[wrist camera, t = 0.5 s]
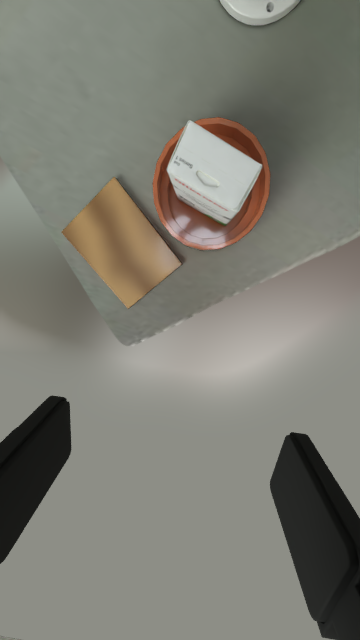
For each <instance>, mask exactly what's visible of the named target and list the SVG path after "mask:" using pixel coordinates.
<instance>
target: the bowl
mask: <svg viewBox="0 0 360 640" xmlns="http://www.w3.org/2000/svg"><path fill="white" fill-rule="evenodd" d="M194 123H196V124H197V125H199V126H201V127H202V128H204V129H205V130H207V131H209V132H210V133H212V134H213V135H215V136H217V137H218V138H220V139H221V140H223V141H224V142H226V143H228V144H229V145H231V146H232V147H234V148H236V149H237V150H239V151H240V152H242V153H244V154H245V155H247V156H248V157H250V158H252V159H253V160H255V161H256V162H258V163H260V164H262V169H261V171H260V173H259V176H258V178H257V180H256V182H255V183H254V185H253V187H252V189H251V191H250V193H249V194H248V196H247V198H246V200H245V201H244V203H243V205H242V207H241V209H240V211H239V212H238V213H237V214H236V215H235V216H234V217H233V218H232V219H231V221H230V222H229V223H228V224H227V225H226V226H223V225H222V224H220V223H218V222H216V221H215V220H213V219H211V218H210V217H208V216H206V215H204V214H203V213H201V212H199V211H197V210H196V209H194V208H192V207H191V206H189V205H187V204H185V203H184V202H182V201H180V200H178V198H177V195H176V193H175V190H174V187H173V185H172V182H171V180H170V177H169V174H168V172H167V167H168V164H169V162H170V159H171V156H172V154H173V152H174V149H175V147H176V145H177V143H178V140H179V138H180V136H181V134H182V132H183V130H184V128H185V127H184V128H182V129H181V130H180V131H179V132H178V133H177V134H176V135H175V136H174V137H173V138H172V139H171V140H170V141H169V142H168V143H167V144H166V146H165V148H164V150H163V152H162V154H161V155H160V157H159V159H158V161H157V164H156V169H155V174H154V179H153V194H154V204H155V207H156V209H157V212H158V215H159V217H160V220H161V222H162V223H163V225H164V226H165V227H166V229H167V230H168V231H169V232H170V234H171V235H172V236H173V237H174V238H176V239H177V240H178V241H180V242H181V243H183V244H184V245H186V246H187V247H191V248H194V249H198V250H202V251H203V250H217V249H221V248H223V247H226V246H228V245H231V244H233V243H236V242H237V241H239V240H240V239H241V238H242V237H244V236H245V235H246V234H247V233H249V232H250V231H251V230H252V228H253V227H254V225H255V224H256V223H257V221H258V220H259V218H260V217H261V215H262V213H263V211H264V208H265V205H266V202H267V199H268V196H269V187H270V170H269V166H268V162H267V158H266V153H265V151H264V150H263V148H262V146H261V145H260V143H259V142H258V140H257V138H256V137H255V136H254V134H252V133H251V132H250V131H248V130H247V129H246V128H245V127H243V126H242V125H241V124H240V123H238V122H234V121H231V120H227V119H224V118H220V117H217V118H207V119H200V120H198V121H196V122H194Z"/></svg>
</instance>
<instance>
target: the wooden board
mask: <svg viewBox="0 0 360 640" xmlns="http://www.w3.org/2000/svg"><path fill="white" fill-rule="evenodd" d="M62 233H63V235H64V236H65V237H66V238H67V239H68V240H69V241H70V243H71V244H72V245H73V246H74V247H75V248H76V249H77V251H78V252H79V253H80V254H81V255H82V256H83V257H84V259H85V260H86V261H87V262H88V263H89V264H90V265H91V267H92V268H93V269H94V270H95V271H96V272H97V274H98V275H99V276H100V277H101V278H102V279H103V280H104V282H105V283H106V284H107V285H108V286H109V287H110V288H111V290H112V291H113V292H114V293H115V294H116V295H117V296H118V298H119V299H120V300H121V301H122V302H123V303H124V304H125V306H126V307H127V308H128V309H129V308H130V307H131V306H132V305H133V304H135V303H136V302H137V301H138V300H139V299H141V298H142V297H143V296H144V295H145V294H147V293H148V292H149V291H150V290H151V289H153V288H154V287H155V286H156V285H158V284H159V283H160V282H161V281H162V280H164V279H165V278H166V277H167V276H168V275H170V274H171V273H172V272H173V271H174V270H176V269H177V268H178V267H179V266H180V265H182V263H181V262H180V261H179V259H178V258H177V257H176V255H175V254H174V253H173V251H172V250H171V249H170V248H169V246H168V245H167V244H166V242H165V241H164V240H163V239H162V237H161V236H160V235H159V233H158V232H157V231H156V230H155V228H154V227H153V226H152V224H151V223H150V222H149V220H148V219H147V218H146V217H145V215H144V214H143V213H142V211H141V210H140V209H139V208H138V206H137V205H136V204H135V202H134V201H133V200H132V199H131V197H130V196H129V195H128V193H127V192H126V191H125V189H124V188H123V187H122V186H121V184H120V183H119V182H118V180H117V179H116V178H115V177H113V178H112V180H111V181H110V182H109V183H108V184H107V185H106V186H105V187H104V188H103V189H102V190H101V191H100V192H99V193H98V194H97V195H96V196H95V197H94V198H93V199H92V200H91V202H90V203H89V204H88V205H87V206H86V207H85V208H84V209H83V210H82V211H81V212H80V213H79V214H78V215H77V216H76V217H75V218H74V219H73V220H72V221H71V223H70V224H69V225H68V226H67V227H66V228H65V229H64V230H63V231H62Z"/></svg>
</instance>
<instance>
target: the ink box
mask: <svg viewBox="0 0 360 640" xmlns="http://www.w3.org/2000/svg"><path fill="white" fill-rule="evenodd" d="M261 169H262V164H260V163H258V162H256V161H255V160H253V159H252V158H250V157H248V156H247V155H245V154H244V153H242V152H240V151H239V150H237V149H236V148H234V147H232V146H231V145H229V144H228V143H226V142H224V141H223V140H221V139H220V138H218V137H217V136H215V135H213V134H212V133H210V132H209V131H207V130H205V129H204V128H202V127H201V126H199V125H197V124H196V123H194V122H192V121H191V120H189V121H188V123H187V124H186V126H185V128H184V130H183V132H182V134H181V136H180V138H179V140H178V143H177V145H176V147H175V149H174V152H173V154H172V156H171V159H170V162H169V164H168V167H167V172H168V174H169V177H170V180H171V182H172V185H173V187H174V190H175V193H176V195H177V198H178V200H180V201H182V202H184V203H185V204H187V205H189V206H191V207H192V208H194V209H196V210H197V211H199V212H201V213H203V214H204V215H206V216H208V217H210V218H211V219H213V220H215V221H216V222H218V223H220V224H222V225H223V226H226V225H227V224H228V223H229V222H230V221H231V219H232V218H233V217H234V216H235V215H236V214H237V213H238V212H239V211H240V209H241V207H242V205H243V203H244V201H245V200H246V198H247V196H248V194H249V193H250V191H251V189H252V187H253V185H254V183H255V182H256V180H257V178H258V176H259V173H260V171H261Z"/></svg>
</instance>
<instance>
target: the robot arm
mask: <svg viewBox="0 0 360 640" xmlns="http://www.w3.org/2000/svg"><path fill="white" fill-rule="evenodd" d="M300 1H301V0H220V2H221V4H222V6H223V7H224V8H225V9H226V11H227V12H228V13H229V14H230V15H231V16H233V17H234V18H235V19H236V20H238V21H240V22H243V23H245V24H249V25H255V26H256V25H266V24H269V23H272V22H275V21H277V20H279V19H280V18H282V17H284V16H285V15H287V14H288V13H289V12H290V11H291V10H292V9H294V8H295V7H296V5H297V4H298V3H299V2H300ZM70 452H71V431H70V404H69V402H67V401H66V398H64V397H58V396H50V397H49V398H47V399H46V401H44V402H43V403H42V404H41V405H40V406H39V407H38V408H37V409H36V410H35V411H34V412H33V413H32V414H31V415H30V416H29V417H28V418H27V419H26V420H25V421H24V422H23V423H22V424H21V425H20V426H19V427H17V428H16V429H14V430H13V431H12V432H11V433H10V434H9V435H8V436H7V437H6V438H5V439H4V440H3V441H2V442H1V443H0V564H1V563H2V562H3V561H4V560H5V558H6V557H7V555H8V554H9V552H10V551H11V549H12V548H13V546H14V544H15V543H16V541H17V539H18V538H19V536H20V535H21V533H22V532H23V530H24V528H25V527H26V525H27V523H28V522H29V520H30V519H31V517H32V515H33V514H34V512H35V511H36V509H37V508H38V506H39V504H40V503H41V501H42V499H43V498H44V496H45V495H46V493H47V491H48V490H49V488H50V487H51V485H52V483H53V482H54V480H55V478H56V477H57V475H58V474H59V472H60V471H61V469H62V467H63V466H64V464H65V463H66V461H67V459H68V458H69V455H70ZM270 489H271V493H272V496H273V499H274V503H275V506H276V508H277V512H278V515H279V518H280V521H281V524H282V528H283V531H284V534H285V537H286V540H287V544H288V546H289V550H290V553H291V556H292V559H293V563H294V566H295V569H296V572H297V575H298V578H299V581H300V585H301V588H302V591H303V594H304V597H305V600H306V604H307V607H308V610H309V612H310V615H311V617H312V618H313V619H314V620H315V621H317V623H318V626H319V629H320V633H321V635H322V637H323V638H329V639H335V640H360V518H359V517H358V515H357V513H356V512H355V510H354V509H353V507H352V505H351V504H350V502H349V500H348V499H347V497H346V496H345V494H344V492H343V491H342V489H341V488H340V486H339V484H338V483H337V481H336V480H335V478H334V477H333V475H332V473H331V472H330V470H329V469H328V467H327V465H326V464H325V462H324V461H323V459H322V457H321V456H320V454H319V453H318V451H317V449H316V448H315V446H314V444H313V443H312V441H311V440H310V438H309V437H308V435H306V434H300V433H294V432H291V433H290V435H287V436H286V437H285V440H284V443H283V445H282V448H281V451H280V454H279V457H278V460H277V463H276V466H275V469H274V472H273V475H272V478H271V481H270ZM0 640H19V639H14V638H9V637H3V636H0Z"/></svg>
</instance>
